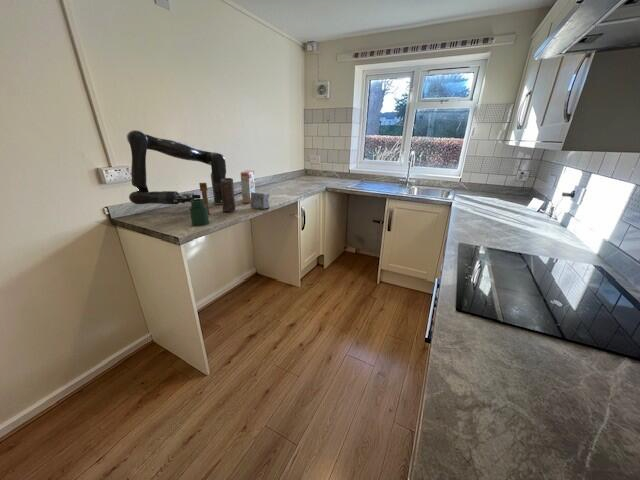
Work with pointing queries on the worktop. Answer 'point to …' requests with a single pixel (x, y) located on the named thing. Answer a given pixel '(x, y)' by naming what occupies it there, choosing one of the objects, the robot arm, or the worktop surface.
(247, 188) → the cracker box
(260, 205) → the incense holder
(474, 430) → the worktop surface
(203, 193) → the wooden spoon
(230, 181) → the candle
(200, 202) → the bottle
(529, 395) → the worktop surface
